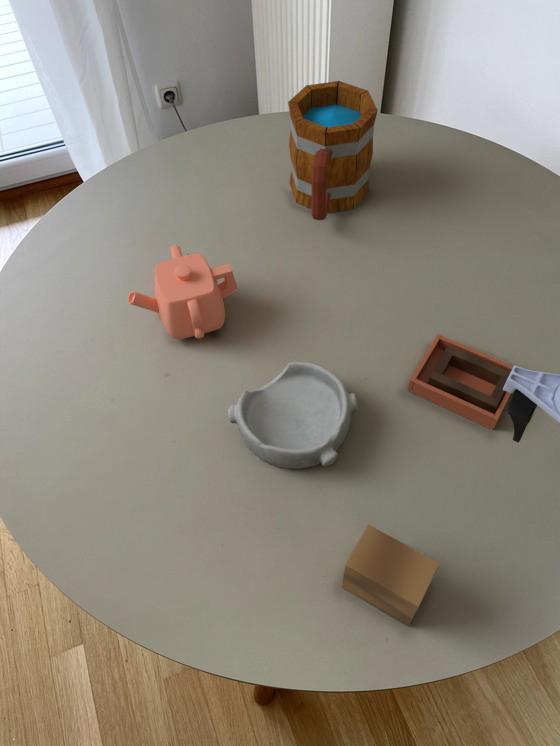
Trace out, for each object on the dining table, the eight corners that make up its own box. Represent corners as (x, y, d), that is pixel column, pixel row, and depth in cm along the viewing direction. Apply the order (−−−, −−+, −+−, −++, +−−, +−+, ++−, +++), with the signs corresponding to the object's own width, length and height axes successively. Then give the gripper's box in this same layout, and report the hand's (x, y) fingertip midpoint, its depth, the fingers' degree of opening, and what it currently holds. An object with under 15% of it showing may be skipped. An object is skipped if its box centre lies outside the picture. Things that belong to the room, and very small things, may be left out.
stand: (427, 586, 71) (439, 563, 65) (408, 627, 68) (418, 607, 62) (362, 549, 73) (368, 523, 67) (341, 587, 71) (345, 564, 65)
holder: (517, 380, 86) (522, 369, 84) (493, 430, 82) (498, 420, 80) (434, 344, 90) (437, 333, 88) (407, 390, 85) (409, 379, 83)
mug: (296, 158, 114) (296, 77, 102) (373, 165, 112) (382, 84, 100) (274, 235, 103) (270, 154, 91) (359, 245, 101) (367, 164, 89)
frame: (508, 383, 85) (513, 372, 83) (492, 417, 82) (496, 407, 80) (444, 355, 88) (447, 344, 86) (426, 387, 85) (429, 376, 83)
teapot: (134, 331, 93) (118, 284, 85) (182, 277, 98) (171, 229, 90) (201, 363, 89) (191, 317, 81) (247, 305, 95) (242, 257, 87)
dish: (218, 438, 82) (214, 417, 78) (281, 364, 88) (280, 341, 84) (314, 498, 77) (315, 479, 73) (373, 415, 83) (377, 394, 79)
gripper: (508, 375, 57) (474, 448, 69) (679, 449, 53) (613, 515, 64) (535, 321, 61) (498, 399, 72) (698, 387, 56) (632, 459, 67)
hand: (554, 450), depth 68 cm, fingers open, 7 cm apart
